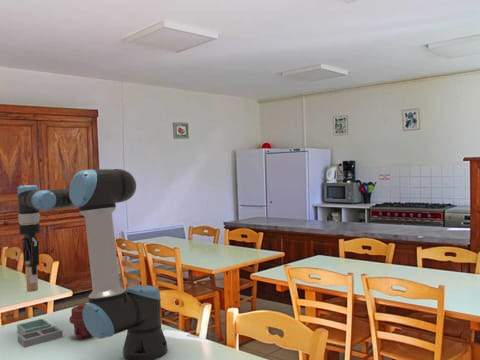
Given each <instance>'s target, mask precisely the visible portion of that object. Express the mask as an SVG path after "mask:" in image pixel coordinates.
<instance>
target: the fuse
mask: <svg viewBox="0 0 480 360" xmlns="http://www.w3.org/2000/svg"><path fill="white" fill-rule="evenodd" d="M28 266H30V260H28V261H26V265H25V277H26V278H25V280H26V292H28V293H32V292H36V291H38V290H39V288H38V287H39V286H38V283H39V281H38V282H35V283H30V269H29V267H28Z"/></svg>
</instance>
